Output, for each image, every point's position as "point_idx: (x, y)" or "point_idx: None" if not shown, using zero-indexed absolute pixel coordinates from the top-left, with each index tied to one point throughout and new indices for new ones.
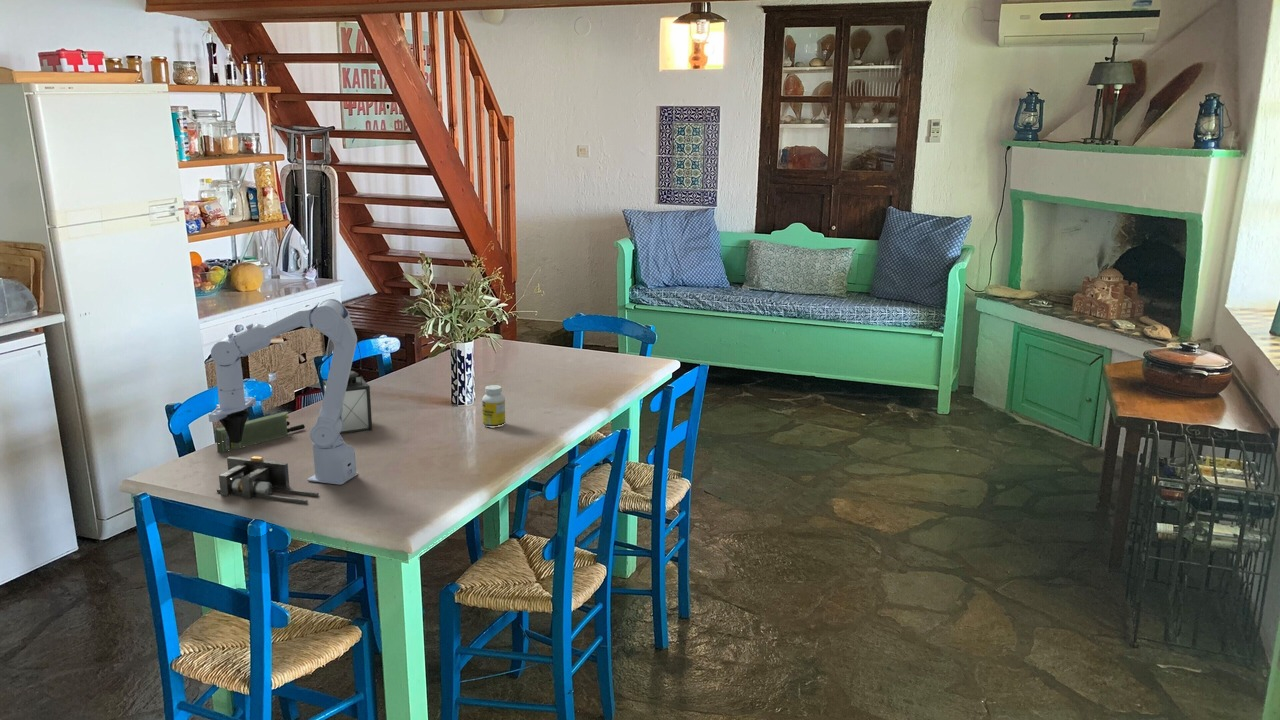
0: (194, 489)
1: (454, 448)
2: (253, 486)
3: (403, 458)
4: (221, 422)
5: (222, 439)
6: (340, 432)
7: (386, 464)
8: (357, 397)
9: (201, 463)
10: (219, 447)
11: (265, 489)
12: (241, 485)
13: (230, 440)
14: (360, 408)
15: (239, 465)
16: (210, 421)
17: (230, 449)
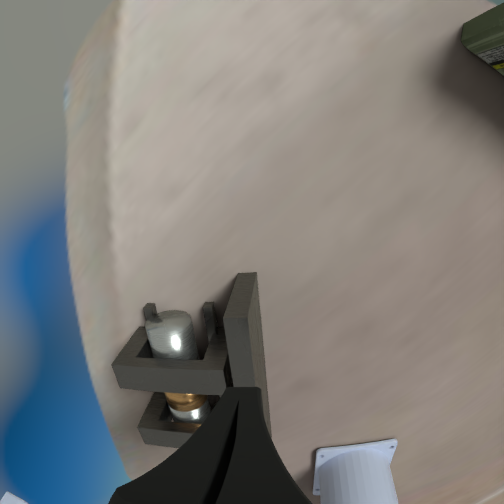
0: (132, 215)
1: (496, 486)
2: (174, 421)
3: (463, 477)
4: (142, 480)
5: (493, 37)
6: None
7: (435, 480)
8: None
9: (353, 35)
10: (470, 31)
11: None
12: (164, 392)
13: (223, 395)
14: None
15: (216, 374)
16: (11, 498)
17: (488, 63)
